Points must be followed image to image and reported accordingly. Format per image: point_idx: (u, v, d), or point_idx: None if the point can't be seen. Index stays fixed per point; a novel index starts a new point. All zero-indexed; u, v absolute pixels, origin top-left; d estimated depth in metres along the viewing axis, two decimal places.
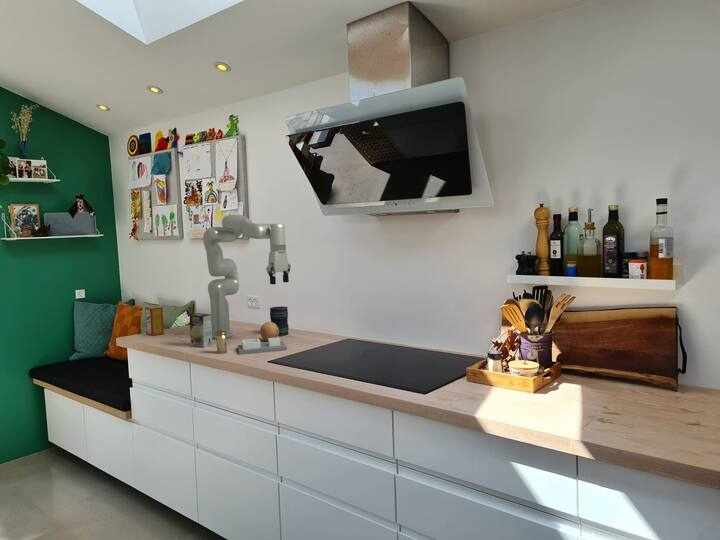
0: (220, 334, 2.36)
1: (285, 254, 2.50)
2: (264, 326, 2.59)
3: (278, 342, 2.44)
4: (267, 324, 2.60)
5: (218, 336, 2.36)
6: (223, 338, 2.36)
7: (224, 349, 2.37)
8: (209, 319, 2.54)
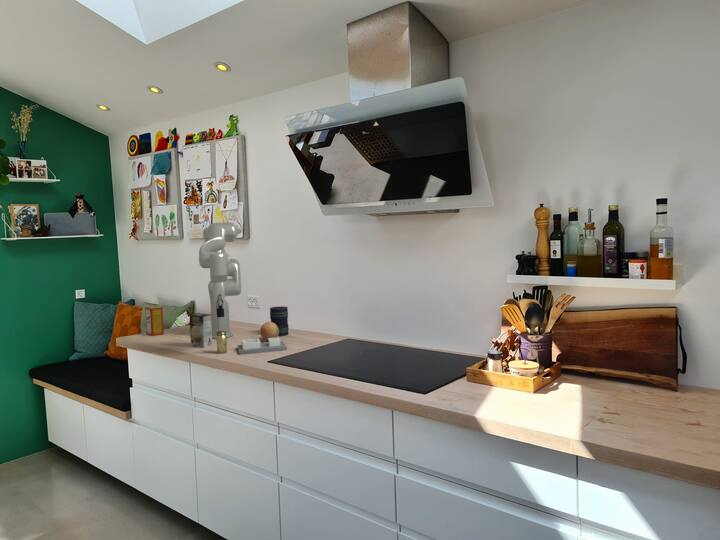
0: (220, 334, 2.36)
1: None
2: (264, 326, 2.59)
3: (278, 342, 2.44)
4: (267, 324, 2.60)
5: (218, 336, 2.36)
6: (223, 338, 2.36)
7: (224, 349, 2.37)
8: (209, 319, 2.54)
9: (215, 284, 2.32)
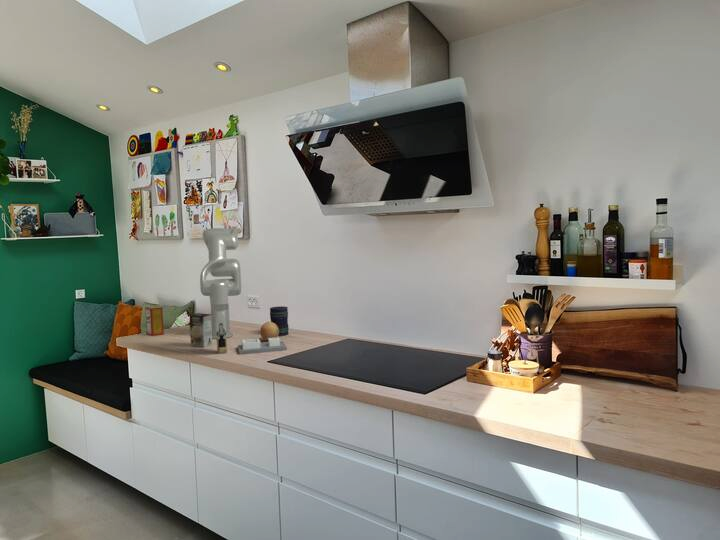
0: None
1: None
2: (264, 326, 2.59)
3: (278, 342, 2.44)
4: (267, 324, 2.60)
5: (218, 336, 2.36)
6: None
7: (224, 349, 2.37)
8: (209, 319, 2.54)
9: (216, 313, 2.33)
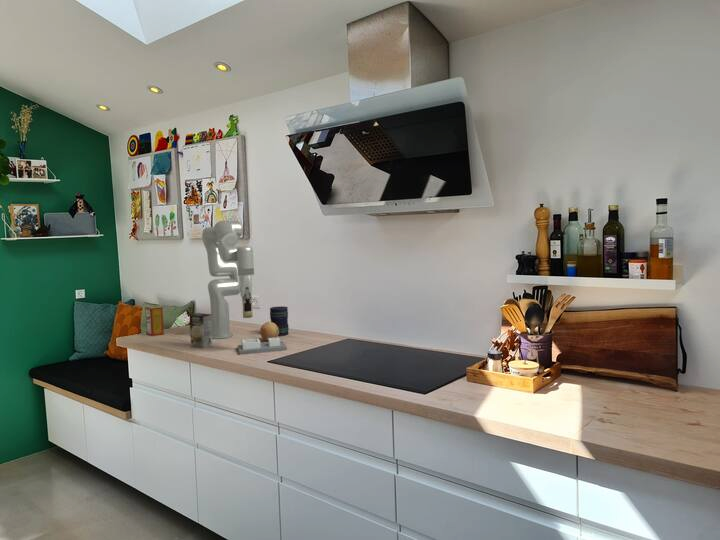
0: None
1: None
2: (264, 326, 2.59)
3: (278, 342, 2.44)
4: (267, 324, 2.60)
5: None
6: None
7: (250, 313, 2.40)
8: (209, 319, 2.54)
9: (242, 277, 2.35)
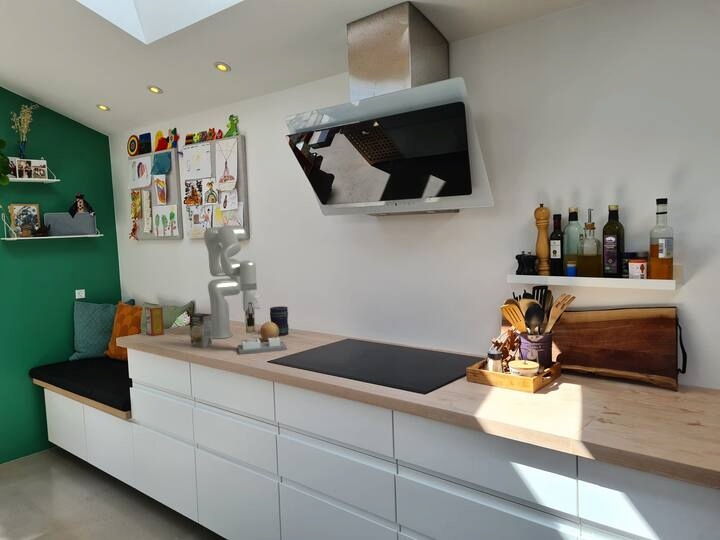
0: None
1: None
2: (264, 326, 2.59)
3: (278, 342, 2.44)
4: (267, 324, 2.60)
5: None
6: None
7: (253, 328, 2.40)
8: (209, 319, 2.54)
9: (245, 292, 2.36)
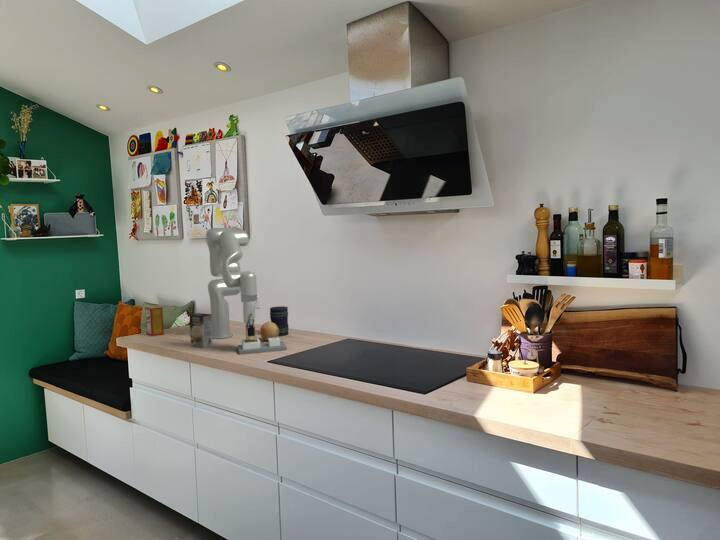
0: None
1: None
2: (264, 326, 2.59)
3: (278, 342, 2.44)
4: (267, 324, 2.60)
5: (247, 330, 2.40)
6: None
7: None
8: (209, 319, 2.54)
9: (246, 303, 2.36)
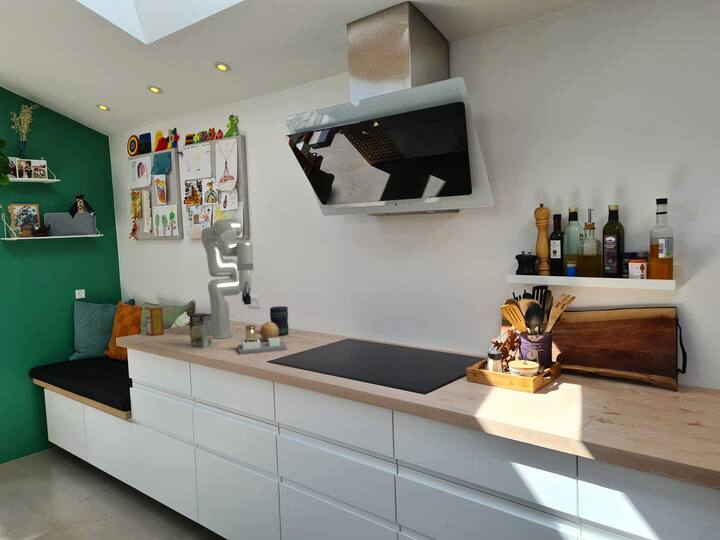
0: (249, 328, 2.40)
1: None
2: (264, 326, 2.59)
3: (278, 342, 2.44)
4: (267, 324, 2.60)
5: (247, 330, 2.40)
6: (252, 332, 2.40)
7: None
8: (209, 319, 2.54)
9: (242, 272, 2.36)
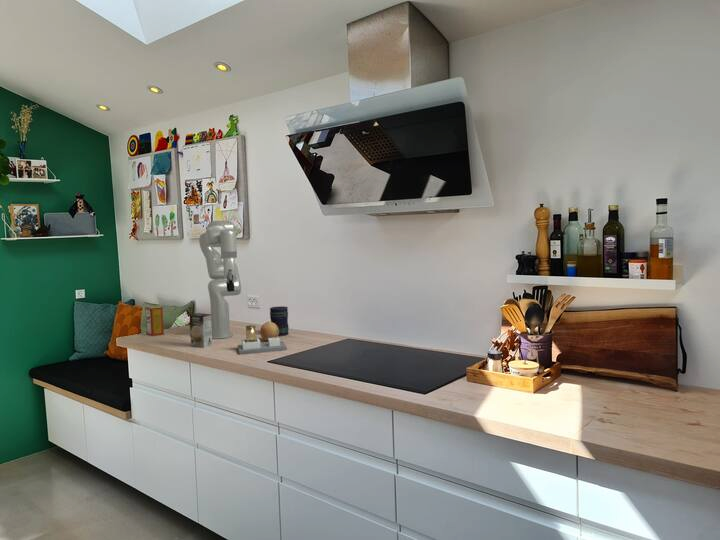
0: (250, 328, 2.40)
1: None
2: (264, 326, 2.59)
3: (278, 342, 2.44)
4: (267, 324, 2.60)
5: (248, 330, 2.40)
6: (252, 332, 2.40)
7: None
8: (209, 319, 2.54)
9: (225, 260, 2.42)
